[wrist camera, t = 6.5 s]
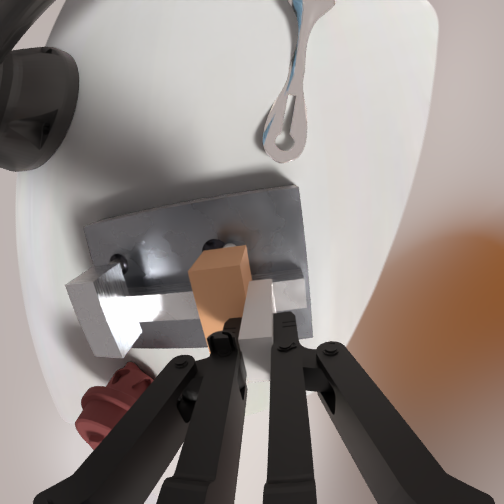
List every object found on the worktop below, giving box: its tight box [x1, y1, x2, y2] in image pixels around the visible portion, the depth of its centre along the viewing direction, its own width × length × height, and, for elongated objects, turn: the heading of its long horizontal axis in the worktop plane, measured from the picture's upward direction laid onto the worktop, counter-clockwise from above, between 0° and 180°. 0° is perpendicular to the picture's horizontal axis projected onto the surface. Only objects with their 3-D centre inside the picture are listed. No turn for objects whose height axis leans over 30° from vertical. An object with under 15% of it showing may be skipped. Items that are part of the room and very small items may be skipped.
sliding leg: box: [188, 243, 252, 354], centre depth 19 cm, size 7×3×6 cm, turn 9°
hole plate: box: [84, 185, 313, 348], centre depth 24 cm, size 13×19×3 cm
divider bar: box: [65, 258, 307, 358], centre depth 20 cm, size 6×18×6 cm, turn 99°
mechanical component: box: [75, 362, 154, 450], centre depth 25 cm, size 12×10×10 cm
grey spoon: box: [263, 0, 337, 163], centre depth 18 cm, size 20×4×5 cm
